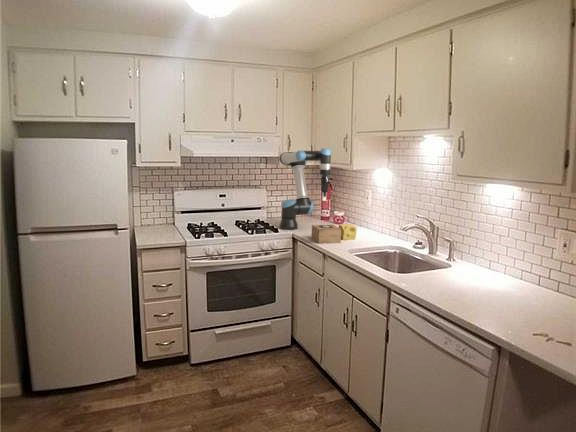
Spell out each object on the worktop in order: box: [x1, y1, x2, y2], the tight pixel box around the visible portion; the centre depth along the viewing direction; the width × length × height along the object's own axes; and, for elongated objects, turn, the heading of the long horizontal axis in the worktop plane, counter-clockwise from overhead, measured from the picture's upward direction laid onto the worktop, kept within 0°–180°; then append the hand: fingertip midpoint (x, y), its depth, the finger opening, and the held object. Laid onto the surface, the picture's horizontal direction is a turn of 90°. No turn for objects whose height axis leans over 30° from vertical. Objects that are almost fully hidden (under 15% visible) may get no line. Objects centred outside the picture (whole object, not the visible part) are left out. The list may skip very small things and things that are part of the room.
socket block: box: [311, 224, 342, 245], centre depth 304 cm, size 18×16×10 cm
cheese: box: [337, 223, 358, 241], centre depth 313 cm, size 10×11×10 cm
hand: (324, 200), depth 319 cm, fingers closed
